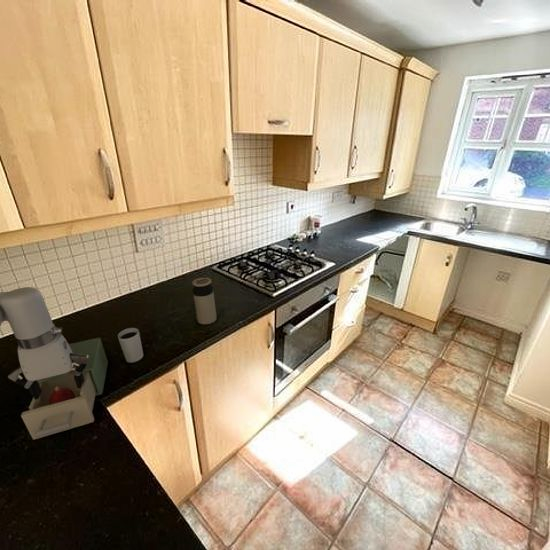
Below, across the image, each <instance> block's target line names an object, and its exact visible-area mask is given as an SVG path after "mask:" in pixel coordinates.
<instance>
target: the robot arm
mask: <svg viewBox="0 0 550 550" xmlns="http://www.w3.org/2000/svg"><path fill="white" fill-rule="evenodd" d="M4 322H8V324H9V326H10V328H11V330H12V332H13V333H12V334H13V335H14V337H15V339H16V341H17V344H18V346H17V357H18V361H19V365H20V366H18V367H17V368H15V369H14V370H12V371H11V372H9V374H8V376H7V378H8V379H9V380H11V381H12V382H14V383H15V384H16V385H18V386H22V387H24V389H28V392H29V394H30V396H31V397H32V398H33V397H34V399H35V400H36V399H38V398H39V396H40V394H41V392H42V390H41V388H40V386H39V384H38V381H36V380H40V379H44V378H48V377H52V376H56V375H60V374H64V373H67V372H69V373H71V374H73V375H74V380H75V382H76V385H77V388H81V386H82V383H84V377H83V374H82V371H83V370H84V369H85V367H86V364H87V361H88V358H89V356H88V355H82V354H74V353H73V352H72V350H71V348H70V346H69V344H70V343H69V342H68V341H67V339H66V338H65V337H64V335H63V334H62V333H63V332H64V329H63V327H56V324H54V322H53V319H52V317H51V314H50V312H49V309H48V306H47V304H46V301H45V297H44V296H43V293H42V291H41V290H40V289H39V288H37V287H34V286H25V287H19V288H16V289H12V290H9V291H1V292H0V327H2V324H3V323H4ZM75 360H76V361H81V362H82V363H81V364H80V365H78V364H76V363H73V362H75ZM20 374H23V375H20Z"/></svg>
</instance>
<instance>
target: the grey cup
mask: <svg viewBox="0 0 550 550" xmlns="http://www.w3.org/2000/svg"><path fill="white" fill-rule="evenodd" d="M117 339H118V341H119V345H120V348H121V350H122V353H123V357H124V359H125V361H126V362H127V363H136V362H139V361H140V360H142V359H143V357H144V351H143V350H144V349H143V346H142V340H141V335H140V329H138V328H136V327H128V328H126V329H123V330H121V331H120V332H119V333H118V334H117Z"/></svg>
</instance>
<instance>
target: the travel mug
mask: <svg viewBox="0 0 550 550" xmlns="http://www.w3.org/2000/svg"><path fill="white" fill-rule="evenodd" d="M191 283H192V284H191V285H193V288H192V295H193V301H194V308H195V313H196V321H197V323H198V324H200V325H211V324H212V323H213V324H214V322H215V321H216V320H218V319H217V309H216V302H215V294H214V286H213V285H212V279H211V278H209V277H199V278H196V279H193V280H192V282H191Z"/></svg>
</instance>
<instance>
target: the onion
mask: <svg viewBox="0 0 550 550" xmlns="http://www.w3.org/2000/svg"><path fill="white" fill-rule="evenodd" d="M74 398H75V395H74V392H73V391H72V390H70V389H68V388H59V387H56V388H55V391H54V392H53V393H52V394H51V396H50V398H49V405H51V404H55V403H59V402H63V401H66V400H70V399H74Z"/></svg>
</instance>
